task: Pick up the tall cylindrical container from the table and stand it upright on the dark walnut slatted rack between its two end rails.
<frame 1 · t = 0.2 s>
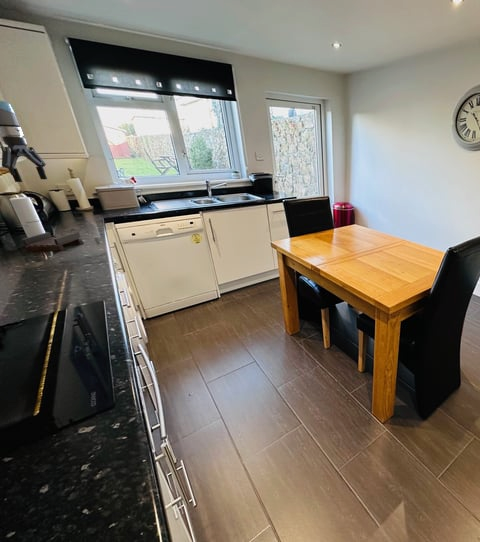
hand: (32, 180, 149), 34 cm above the worktop, tool pointing down, fingers open, 13 cm apart
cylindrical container: (40, 243, 159), on the worktop
rack: (56, 247, 152), on the worktop
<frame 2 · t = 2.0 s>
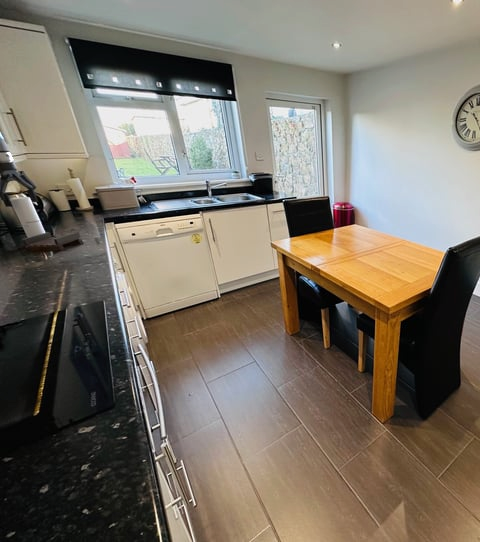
hand: (22, 204, 150), 22 cm above the worktop, tool pointing down, fingers open, 13 cm apart
nothing on the worktop moved.
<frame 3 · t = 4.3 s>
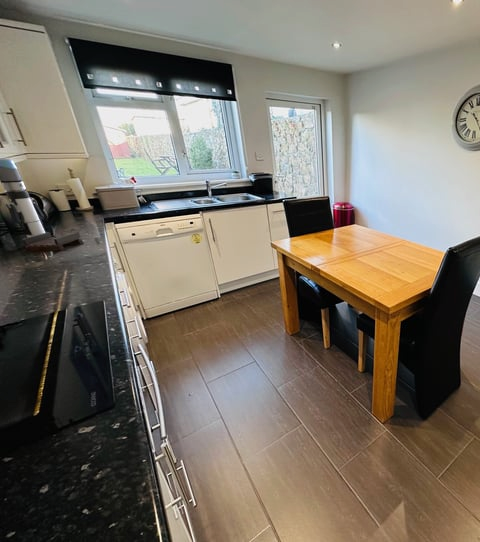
hand: (35, 232, 156), 6 cm above the worktop, tool pointing down, fingers closed on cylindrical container, 7 cm apart
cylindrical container: (40, 243, 159), on the worktop, touching gripper
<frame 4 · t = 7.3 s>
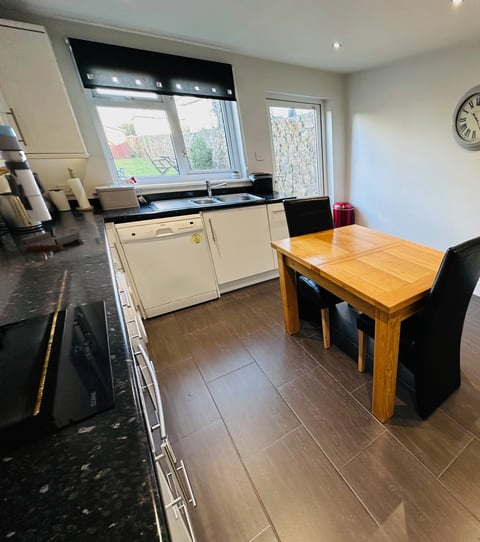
hand: (36, 208, 145), 21 cm above the worktop, tool pointing down, fingers closed on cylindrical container, 7 cm apart
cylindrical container: (42, 220, 147), point 15 cm above the worktop, touching gripper
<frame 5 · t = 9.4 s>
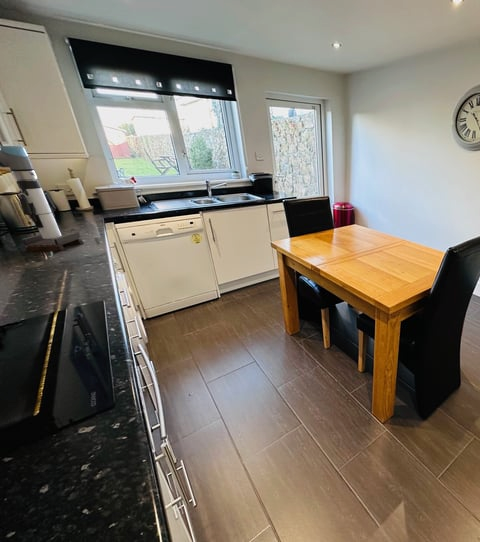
hand: (47, 225, 147), 12 cm above the worktop, tool pointing down, fingers closed on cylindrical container, 7 cm apart
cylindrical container: (52, 237, 150), point 6 cm above the worktop, touching gripper
when the fingers open (10 cm above the worktop, at t = 10.5 s): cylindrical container stays where it is, resting on rack.
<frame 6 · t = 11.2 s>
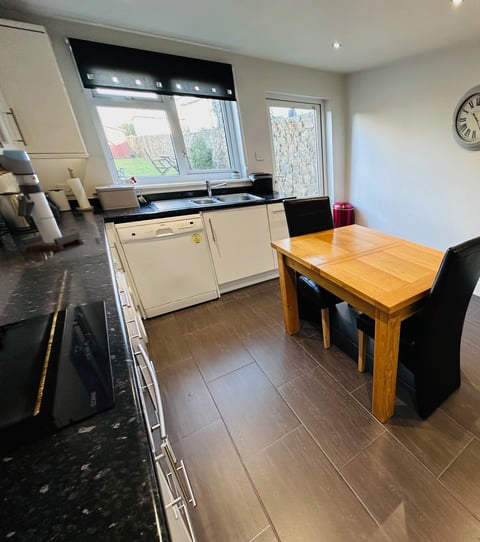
hand: (47, 226, 147), 12 cm above the worktop, tool pointing down, fingers open, 13 cm apart
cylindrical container: (54, 241, 150), point 4 cm above the worktop, touching rack
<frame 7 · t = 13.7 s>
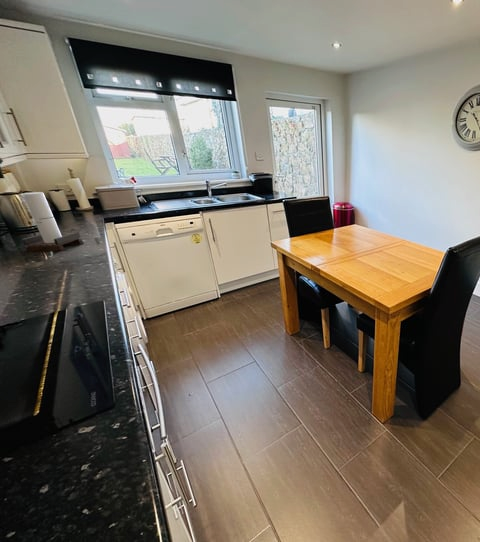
nothing on the worktop moved.
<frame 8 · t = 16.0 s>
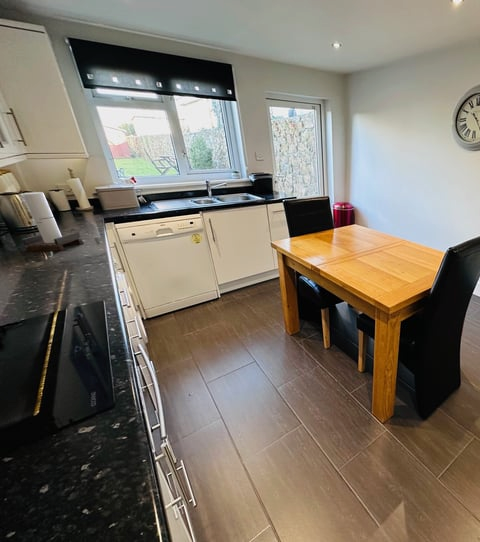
nothing on the worktop moved.
at the end: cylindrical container inside the target area on the rack (0.0 cm from its centre), point 3.8 cm above the rack's base; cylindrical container tilted 0°; the gripper is holding nothing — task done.
